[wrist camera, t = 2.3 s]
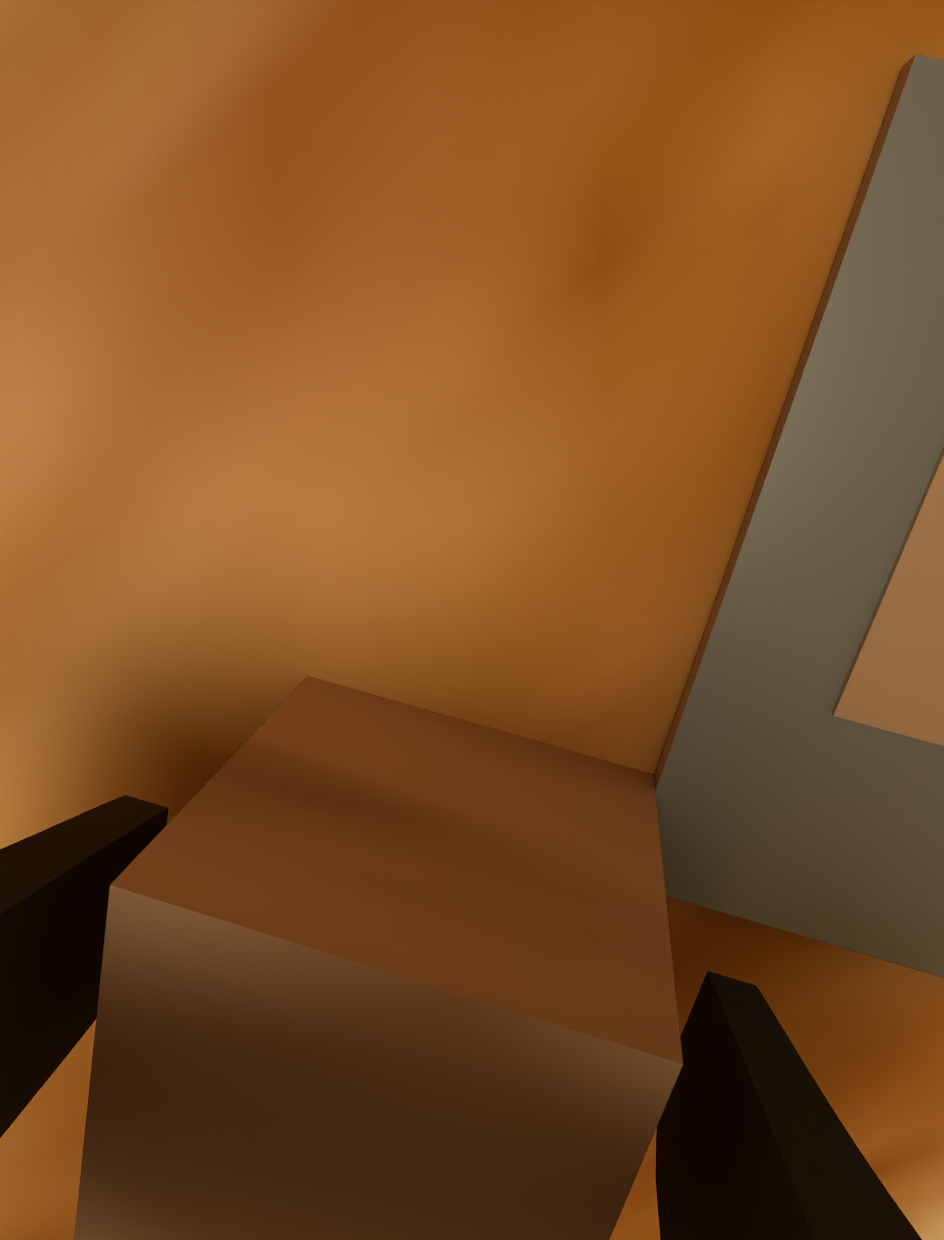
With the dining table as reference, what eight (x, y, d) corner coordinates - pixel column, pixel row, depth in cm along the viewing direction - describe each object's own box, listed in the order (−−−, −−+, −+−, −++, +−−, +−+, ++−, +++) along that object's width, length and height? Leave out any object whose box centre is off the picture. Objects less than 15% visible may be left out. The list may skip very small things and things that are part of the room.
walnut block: (558, 1043, 13) (528, 1430, 8) (260, 949, 13) (70, 1269, 9) (652, 772, 11) (683, 1065, 7) (309, 674, 12) (109, 885, 7)
